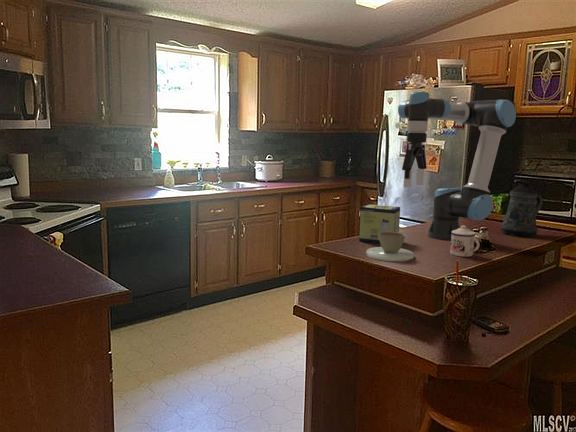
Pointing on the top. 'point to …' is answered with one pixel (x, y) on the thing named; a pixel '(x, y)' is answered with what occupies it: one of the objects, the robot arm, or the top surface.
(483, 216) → the robot arm
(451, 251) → the teacup with lid
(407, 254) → the dish
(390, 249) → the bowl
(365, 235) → the protein box
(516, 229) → the beer stein
